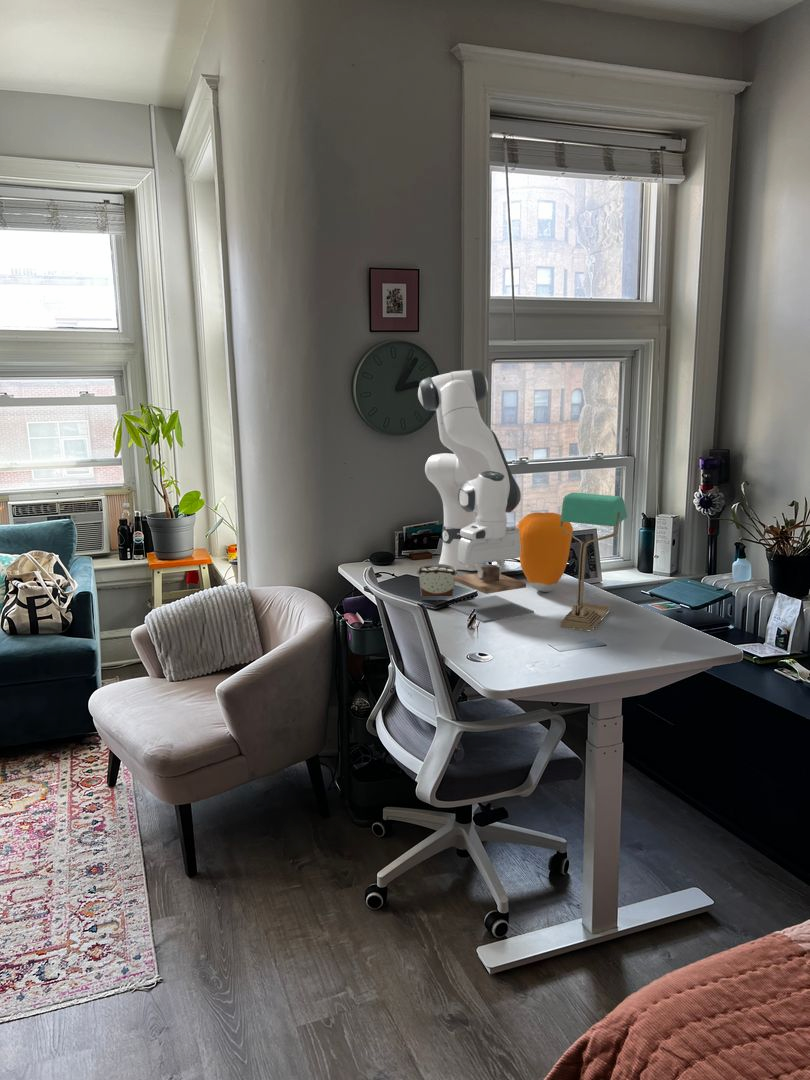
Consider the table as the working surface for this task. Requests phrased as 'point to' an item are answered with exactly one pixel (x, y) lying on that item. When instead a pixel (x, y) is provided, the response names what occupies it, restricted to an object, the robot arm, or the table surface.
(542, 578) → the orange tapered rounded form
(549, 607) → the table surface
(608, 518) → the banker's lamp
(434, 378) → the robot arm
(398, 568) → the table surface
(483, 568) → the walnut cover
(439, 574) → the food container
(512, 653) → the table surface
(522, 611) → the charcoal mat
